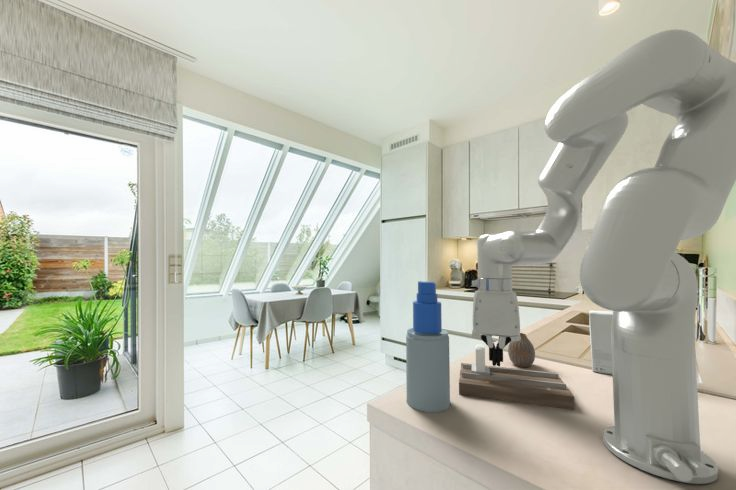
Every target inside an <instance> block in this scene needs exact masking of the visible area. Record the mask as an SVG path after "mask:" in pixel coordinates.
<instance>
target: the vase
mask: <svg viewBox="0 0 736 490" xmlns="http://www.w3.org/2000/svg"><path fill="white" fill-rule="evenodd" d="M520 337H521V340H520V341H514V342H510V343H509V344H508V347H507V352H508V353H507V355H508V358H509V360H510V362H511V363H512V364H513V365H514V366H516V367H520V368H530V367H531V366H532V365H533V364H534V362H535V358H536V351H535V346H534V344H533V343H532V342H531V340H530V339H529V338H528V336H527V334H526V333H524V332H520Z"/></svg>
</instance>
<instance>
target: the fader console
mask: <svg viewBox="0 0 736 490" xmlns="http://www.w3.org/2000/svg"><path fill="white" fill-rule="evenodd" d="M472 364H473V363H467V362H466V363H465V362H460V370H459V380H458V395H461V396H462V395H463V396H471V397H478V398H485V399H494V400H500V401H507V402H515V403H522V404H528V405H529V404H530V405H538V406H544V407H546V406H547V407H553V408H560V409H568V410H575V409H576V407H575V406H576V405H575V396H574V394H573V393H572V391H571V390H570V388H569V387H568V386H567V383H565V382H564V381H563V379H562V378H561V377H560V375H559V373H557V372H552V371H544V370H543V371H542V370H536V369H535V370H534V369H533V370H532V369H523V368H512V367H505V366H504V367H503V366H497V365H495V366H493V365H488V366H489V369H490V375H486V374H477V373H472ZM575 411H576V410H575Z"/></svg>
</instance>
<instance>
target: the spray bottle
mask: <svg viewBox="0 0 736 490" xmlns="http://www.w3.org/2000/svg"><path fill="white" fill-rule="evenodd" d="M442 324H443V322H442V302H441V301H439V300H438V293H437V284H436V281H422V280H421V281H420V280H419V281H417V293H416V300H414V301H412V328H408V329H407V331H406V335H405V338H406V339H405V341H406V342H405V347H406V349H405V352H406V354H405V355H406V359H405V360H406V361H405V362H406V363H405V364H406V367H405V368H406V379H405V380H406V403H407V405H408V406H409V407H411V408H412V409H414V410H417V411H420V412H425V413H439V412H444V411H446V410H447V409H449V408H450V405H451V393H450V392H451V380H450V377H451V376H450V372H451V371H450V370H451V369H450V336H449V332H448V331H447V330H446V329H442V326H443V325H442Z"/></svg>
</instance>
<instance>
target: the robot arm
mask: <svg viewBox="0 0 736 490" xmlns="http://www.w3.org/2000/svg"><path fill="white" fill-rule="evenodd" d="M640 105H644V106H646V107H647V108H650V109H654V110H655V111H658V112H659V113H662V114H666V115H668V116H671V117H674V118H675V119H676V124H675V126H674V127H673V128H672V129H671V131H670V132H669V133H668V135H667V136H666V138H665V140H664V142H663V144H662V146H661V148H660V152H659V155H658V157H657V160H656V162H655V164H654V167H647V168H644V169H640V170H637V171H634V172H633V173H629V174H628V175H626V176H625V177H624V178H622V179H621V180H619V181H618V182H617V183H616V184H615V185H614V186H613V187H612V189H611V190H610V191H609V193H608V194H607V195H606V197H605V199H604V201H603V203H602V206H601V208H600V211H599V214H598V216H597V219H596V222H595V224H594V227H593V230H592V233H591V234H590V237H589V241H588V244H587V246H586V248H585V251H584V254H583V257H582V259H581V263H580V267H579V282H580V286H581V289H582V291H583V293H584V294H585V296H586V297H587V298H588V299H589V300H590V301H591V302H592V303H593V304H595V305H596V306H598V307H600V308H603V309H604V310H605V309H606V310H607V311H612V312H613V316H612V324H611V350H612V393H613V395H612V396H613V417H614V421H613V422H614V425H612V426H609V427H606V429H604V431H602V440H603V441H602V442H603V444H604V446H605V447H606V448H607V450H609V451H610V452H611V453H612V454H613V455H615V457H618V458H619V459H621V460H622V461H623V462H625V463H627V464H628V465H631V466H632V467H634V468H637V469H639V470H642V471H643V472H646V473H649V474H652V475H654V476H656V477H660V478H663V479H666V480H671V481H675V482H679V483H685V484H694V485H703V484H705V485H707V484H709V483H714V482H715V481H717V480H718V478H719V469H718V465H717V463H716V462H715V460H714V459H712V457H710V456H709V455H708V454H707V453H705V452H704V451H702V450H701V434H700V433H701V431H700V417H699V416H700V414H699V399H698V396H699V395H698V377H697V359H696V357H697V356H696V355H697V353H696V352H697V351H696V314H697V313H696V311H697V302H698V294H699V293H698V292H699V286H698V285H699V284H698V279H697V274H696V272H695V271H694V270H695V269H694V268H693V266H692V265H691V264H690V262H689V261H688V260H687V259H686V258H685V257H683V256H682V255H680V254H679V253H677V252H676V251H677V248H678V247H679V243H680V242H681V241H683V240H684V241H685V240H691V239H696V238H697V237H700V236H702V235H704V234H705V233H707V232H708V231H710V230H711V229H712V228H713V227H715V224H717V222H718V221H719V218H720V216H721V214H722V212H723V210H724V207H725V205H726V202H727V199H728V198H729V195H730V193H731V191H732V189H733V187H734V185H735V183H736V62H735V61H733V60H731V59H729V58H727V57H726V56H724V54H721V53H720V52H719V51H717V49H715V48H714V47H712V46H711V45H709V44H708V43H707V42H706V41H705V40H703V39H702V38H701V37H700V36H698V35H697V34H695V33H693V32H691V31H688V30H687V29H686V30H685V29H677V28H676V29H675V28H674V29H668V30H664V31H659V32H657V33H655V34H652V35H649V36H647V37H645V38H644V39H642V40H639V41H638V42H636V43H634V44H633V45H631V46H630V47H627V49H626V50H624V51H623V52H620V53H619V54H618V55H616V56H615V57H614V58H613V59H610V60H609V61H608V62H606V63H605V64H604V65H602V66H601V67H599V68H598V69H597V70H594V72H592V73H590V74H589V75H588V76H586V77H585V78H583V79H582V80H581V81H579V82H578V83H576V84H575V85H574V86H573V87H571V88H569V89H568V91H566V92H564V94H563V95H561V96H560V97H559V98H558V99H557V101H555V102H554V104H553V105H552V107H550V109H549V111H548V113H547V114H546V117H545V121H544V131H545V133H546V135H547V137H548V138H550V140H551V141H554V142H556V143H557V145H556V147H555V149H554V150H553V151H552V154H551V156H550V157H549V159H548V160H547V163H546V164H545V166H544V168H543V169H542V171H541V172H540V174H539V176H538V178H537V179H538V180H537V183H538V186H539V187H540V189H541V190H542V191H543V193H544V195H545V198H546V200H547V206H546V207H547V209H546V212H545V215H544V217H543V219H542V221H541V222H540V224H539V225H538V227H537V229H536V230H521V229H520V230H519V229H518V230H517V229H516V230H514V229H513V230H512V229H511V230H506V231H503V232H500V233H485V234H482V235H479V236H478V238H477V243H476V244H477V278H476V279H474V280H471V286H472V287H476V288H477V290H475V291H474V294H473V300H472V301H473V302H472V331H471V336H472V338H476V339H478V340H481V341H482V342H484V343H485V345H486V346H487V347H488V360H489V361H490V362H491V364H492V366H496V367H501V363H503V362H504V349H505V347H507V345H509V343H510V342H514V341H520V340H521V337H520V333H521V319H520V310H519V309H520V306H519V301H518V296H517V292H515V291H513V276H512V275H513V273H512V272H513V271H512V270H513V267H512V266H528V265H529V266H531V265H532V266H537V265H538V266H539V265H542V266H543V265H546V264H549V263H551V262H552V261H554V260H555V259H556V258H557V257H558V256H559V255H561V253H562V252H563V250H564V249H565V247H566V246H567V244H568V243H569V242H570V241H571V239H572V238H573V236H574V233H575V232H576V229H577V228H578V226H579V225H578V224H579V222H580V216H581V211H582V202H583V197H584V195H585V194H586V192H587V190H588V189H589V187H590V186H591V184H592V182H593V181H594V180H595V178H596V176H597V175H598V173H599V172H600V171H601V169H602V168H603V166H604V165H605V163H606V162H607V160H608V158H609V157H610V155H612V152H613V151H614V150H615V149H616V147H617V145H618V143H619V142H620V141H621V139H622V138H623V136H624V134H625V132H626V130H627V129H628V125H629V116H628V113H627V112H629V111H631V110H633V109H634V108H636V107H638V106H640ZM493 337H498V340H497V343H496V345H495V343H494V340H493Z"/></svg>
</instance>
